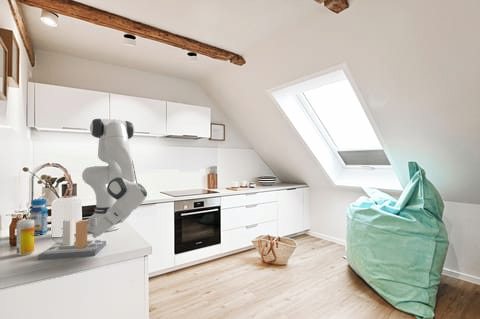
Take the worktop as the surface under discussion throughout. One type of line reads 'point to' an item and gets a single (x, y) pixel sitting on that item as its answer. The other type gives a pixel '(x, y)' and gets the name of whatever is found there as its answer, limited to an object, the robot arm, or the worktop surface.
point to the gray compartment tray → (71, 245)
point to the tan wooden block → (81, 234)
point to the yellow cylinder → (25, 237)
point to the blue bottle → (39, 216)
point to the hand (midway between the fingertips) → (94, 236)
